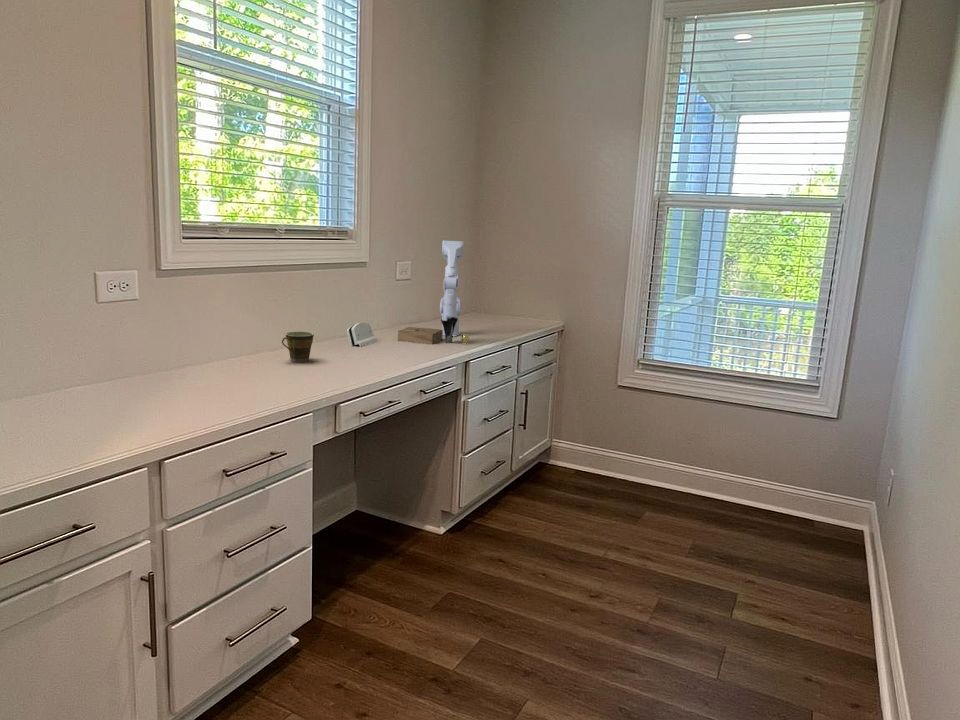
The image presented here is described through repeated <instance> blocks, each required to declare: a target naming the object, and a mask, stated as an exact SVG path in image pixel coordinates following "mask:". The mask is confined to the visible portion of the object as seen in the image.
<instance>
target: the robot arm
mask: <svg viewBox="0 0 960 720" xmlns="http://www.w3.org/2000/svg"><path fill="white" fill-rule="evenodd" d="M464 245H465V243H464V241H463V240H445V239H443V240H442V245H441V253H442V258H443V260H446V264H447V265H446V266H445V267H444V278H443V283H442V284H443V285H442V286H443V287H442V289H443V297H441V299H440V300H439V301H440V303H439V314H440V316H442V317H441V319H440V322H441V330H443V336H444V337H445V335H446V336H450V334H451V328H452V325H453V335H452V336H453V337H452V338H454V337H457V336H459V335H462V333H461V332H460V330H459V329H460V320H459V317H460V316H461V311H462V310H461V308H462V301H461V298H460V297H458V290H459V284H460V283H459V267H458V262H459V261H461V260H463V256H464V255H463V254H464ZM443 336H442V337H443Z"/></svg>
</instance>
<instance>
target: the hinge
mask: <svg viewBox="0 0 960 720" xmlns="http://www.w3.org/2000/svg"><path fill="white" fill-rule="evenodd" d="M346 334H347V339H348V343H349V346H350V347H353V346H356V345H359V347H360V348H362V347H361V346H363V347H365V346H364V345H366V346H368V345H367V344H369V345H372V344H374V343H373V342H375V343H377V342H376V341H378V342H379V340H378V337H377V336H375V334H374V331H373V329H372V326H371V325H370V323H369V322H358V323H354V324H351V326H349V327H348V328H347V330H346ZM371 343H372V344H371Z"/></svg>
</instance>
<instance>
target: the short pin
mask: <svg viewBox="0 0 960 720" xmlns="http://www.w3.org/2000/svg"><path fill="white" fill-rule="evenodd" d="M469 339H470V334H468V333H461V343H460V344H462V343H466V344H465V345H468V344H467V343H469V342H470V340H469Z"/></svg>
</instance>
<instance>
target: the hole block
mask: <svg viewBox="0 0 960 720" xmlns="http://www.w3.org/2000/svg"><path fill="white" fill-rule="evenodd" d="M398 340H399V341H398ZM439 340H440V341H442V340H443V330H442V329H438V328H427V327H417V326H408V327H405V328H402V329H399V330H397V341H398V342H404V341H408V342H407V343H414V342H418V343H417V344H424V343H427V344H426V345H434V344H436V343H438V342H440V341H439ZM437 341H438V342H437ZM435 342H436V343H435ZM433 343H434V344H433Z"/></svg>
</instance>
